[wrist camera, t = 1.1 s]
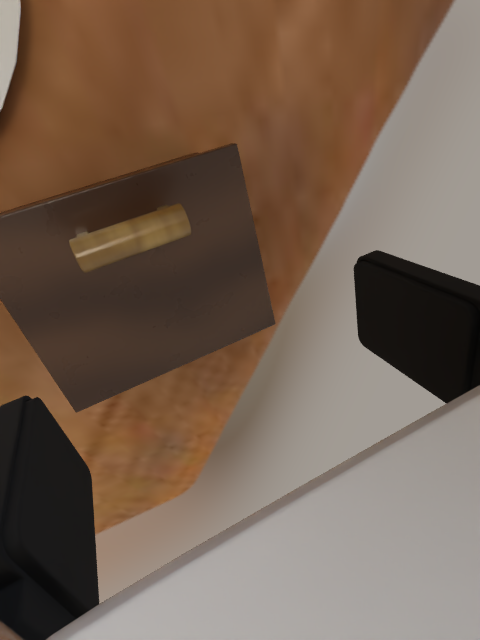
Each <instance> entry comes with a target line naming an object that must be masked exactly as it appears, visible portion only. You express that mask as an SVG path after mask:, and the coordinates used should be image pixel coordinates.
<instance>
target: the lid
mask: <svg viewBox="0 0 480 640" xmlns="http://www.w3.org/2000/svg"><path fill="white" fill-rule="evenodd" d="M0 299H1V301H2V302H3V304H4V305H5V307H6V308H7V310H8V311H9V313H10V314H11V316H12V317H13V319H14V320H15V322H16V323H17V325H18V326H19V328H20V329H21V331H22V332H23V334H24V335H25V337H26V338H27V340H28V341H29V343H30V344H31V346H32V347H33V349H34V350H35V352H36V353H37V355H38V356H39V358H40V359H41V361H42V362H43V364H44V365H45V367H46V368H47V370H48V371H49V373H50V374H51V376H52V377H53V379H54V380H55V382H56V383H57V385H58V386H59V388H60V389H61V391H62V392H63V394H64V395H65V397H66V398H67V400H68V401H69V403H70V404H71V406H72V407H73V409H74V410H75V412H79V411H81V410H83V409H85V408H88V407H90V406H92V405H94V404H97V403H99V402H101V401H103V400H106V399H108V398H110V397H112V396H115V395H117V394H119V393H121V392H124V391H126V390H128V389H130V388H133V387H135V386H137V385H139V384H142V383H144V382H146V381H148V380H151V379H153V378H155V377H157V376H160V375H162V374H164V373H166V372H169V371H171V370H173V369H175V368H178V367H180V366H182V365H184V364H187V363H189V362H191V361H193V360H196V359H198V358H200V357H202V356H205V355H207V354H209V353H211V352H214V351H216V350H218V349H220V348H223V347H225V346H227V345H229V344H232V343H234V342H236V341H238V340H241V339H243V338H245V337H247V336H250V335H252V334H254V333H256V332H259V331H261V330H263V329H265V328H268V327H270V326H272V325H274V324H275V320H274V315H273V310H272V306H271V301H270V296H269V292H268V287H267V282H266V278H265V273H264V269H263V264H262V259H261V255H260V250H259V245H258V241H257V236H256V231H255V227H254V222H253V217H252V213H251V208H250V203H249V199H248V194H247V189H246V185H245V180H244V176H243V171H242V166H241V162H240V157H239V152H238V148H237V144H236V143H231V144H228V145H225V146H221V147H218V148H215V149H212V150H208V151H205V152H202V153H199V154H195V155H192V156H189V157H186V158H182V159H179V160H176V161H173V162H169V163H166V164H163V165H160V166H156V167H153V168H150V169H147V170H143V171H140V172H137V173H134V174H130V175H127V176H124V177H121V178H117V179H114V180H111V181H108V182H104V183H101V184H98V185H95V186H91V187H88V188H85V189H82V190H78V191H75V192H72V193H69V194H65V195H62V196H59V197H56V198H52V199H49V200H46V201H43V202H39V203H36V204H33V205H30V206H26V207H23V208H20V209H17V210H13V211H10V212H7V213H4V214H0Z"/></svg>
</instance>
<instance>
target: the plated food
mask: <svg viewBox="0 0 480 640" xmlns="http://www.w3.org/2000/svg"><path fill="white" fill-rule="evenodd" d="M20 15H21V4H20V0H0V112H1V110H2V108H3V105H4V102H5V99H6V96H7V92H8V89H9V86H10V83H11V79H12V76H13V73H14V70H15V66H16V63H17V53H18V40H19V27H20Z"/></svg>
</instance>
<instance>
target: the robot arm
mask: <svg viewBox="0 0 480 640" xmlns="http://www.w3.org/2000/svg"><path fill="white" fill-rule="evenodd" d="M354 280H355V295H356V309H357V324H358V337H359V340H360V342H361V343H362V345H363V346H364V347H366V348H367V349H369V350H370V351H372V352H373V353H374V354H376V355H377V356H379V357H380V358H382V359H383V360H385V361H386V362H387V363H389V364H390V365H392V366H393V367H395V368H396V369H398V370H399V371H400V372H402V373H403V374H405V375H406V376H408V377H409V378H411V379H412V380H413V381H415V382H416V383H418V384H419V385H421V386H422V387H423V388H425V389H426V390H428V391H429V392H431V393H432V394H434V395H435V396H437V397H438V398H439V399H441V400H442V401H444V402H445V403H447V404H445V405H444V406H442V407H440V408H438V409H436V410H435V411H433V412H431V413H429V414H427V415H426V416H424V417H422V418H420V419H419V420H417V421H415V422H413V423H411V424H410V425H408V426H406V427H404V428H403V429H401V430H399V431H397V432H396V433H394V434H392V435H390V436H389V437H387V438H385V439H383V440H381V441H380V442H378V443H376V444H374V445H373V446H371V447H369V448H367V449H365V450H364V451H362V452H360V453H358V454H357V455H355V456H353V457H352V458H350V459H348V460H346V461H344V462H343V463H341V464H339V465H337V466H336V467H334V468H332V469H330V470H329V471H327V472H325V473H323V474H322V475H320V476H318V477H316V478H315V479H313V480H311V481H309V482H308V483H306V484H304V485H302V486H301V487H299V488H297V489H295V490H294V491H292V492H290V493H288V494H287V495H285V496H283V497H282V498H280V499H278V500H276V501H275V502H273V503H271V504H269V505H268V506H266V507H264V508H262V509H261V510H259V511H257V512H255V513H254V514H252V515H250V516H248V517H247V518H245V519H243V520H241V521H240V522H238V523H236V524H235V525H233V526H231V527H229V528H228V529H226V530H224V531H223V532H221V533H219V534H218V535H216V536H214V537H212V538H210V539H208V540H207V541H205V542H203V543H202V544H200V545H199V546H196V547H195V548H193V549H191V550H189V551H188V552H186V553H184V554H182V555H181V556H179V557H177V558H176V559H174V560H172V561H171V562H169V563H167V564H166V565H164V566H162V567H161V568H159V569H157V570H156V571H154V572H152V573H151V574H149V575H147V576H146V577H144V578H143V579H141V580H139V581H137V582H136V583H134V584H132V585H130V586H129V587H127V588H125V589H124V590H122V591H120V592H119V593H117V594H115V595H114V596H112V597H110V598H109V599H107V600H105V601H104V602H102V603H100V604H99V594H98V576H97V560H96V543H95V527H94V510H93V494H92V479H91V474H90V471H89V468H88V466H87V465H86V463H85V462H84V460H83V459H82V457H81V456H80V455H79V453H78V452H77V450H76V449H75V447H74V446H73V445H72V443H71V442H70V440H69V439H68V437H67V436H66V435H65V433H64V432H63V430H62V429H61V427H60V426H59V424H58V423H57V422H56V420H55V419H54V417H53V416H52V414H51V413H50V412H49V410H48V409H47V407H46V406H45V404H44V403H43V402H42V400H41V399H40V398H38V397H36V398H34V399H31V398H30V397H29V396H23V397H21V398H19V399H16V400H14V401H11V402H9V403H6V404H4V405H2V406H0V640H480V286H479V285H476V284H473V283H470V282H468V281H464V280H462V279H459V278H456V277H453V276H450V275H448V274H445V273H442V272H439V271H436V270H433V269H430V268H427V267H425V266H422V265H419V264H415V263H413V262H410V261H407V260H404V259H402V258H399V257H396V256H393V255H390V254H387V253H384V252H381V251H377V250H376V251H373V252H371V253H368V254H366V255H364V256H361V257H359V258H358V260H357V263H356V264H355V266H354Z"/></svg>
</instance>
